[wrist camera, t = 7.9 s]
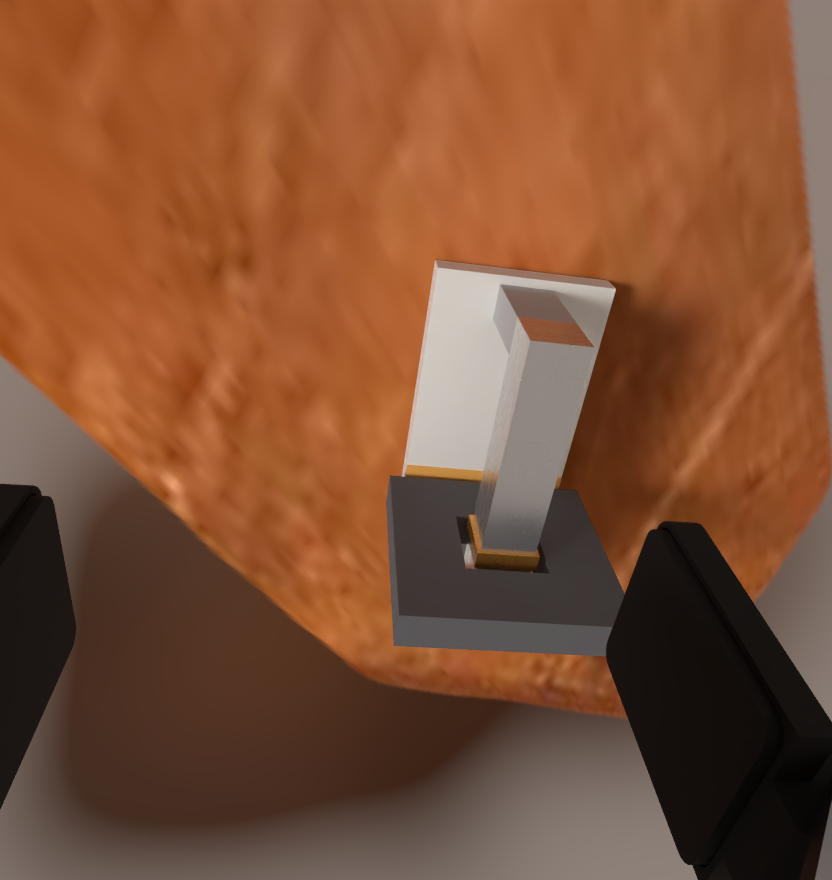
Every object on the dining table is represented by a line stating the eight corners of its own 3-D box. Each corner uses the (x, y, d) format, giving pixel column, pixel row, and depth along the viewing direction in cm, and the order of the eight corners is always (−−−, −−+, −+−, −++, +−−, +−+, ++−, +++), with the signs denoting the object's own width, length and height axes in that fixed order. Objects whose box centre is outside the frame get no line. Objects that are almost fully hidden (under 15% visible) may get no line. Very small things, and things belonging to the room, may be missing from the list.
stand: (435, 259, 39) (447, 298, 33) (608, 280, 40) (647, 321, 34) (391, 544, 49) (395, 611, 43) (531, 553, 50) (552, 620, 44)
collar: (390, 475, 43) (399, 615, 33) (576, 490, 45) (640, 628, 35) (386, 501, 44) (393, 645, 34) (568, 515, 46) (629, 657, 35)
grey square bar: (512, 314, 34) (526, 341, 31) (580, 322, 34) (600, 349, 31) (449, 606, 43) (455, 647, 40) (502, 609, 44) (512, 650, 41)
